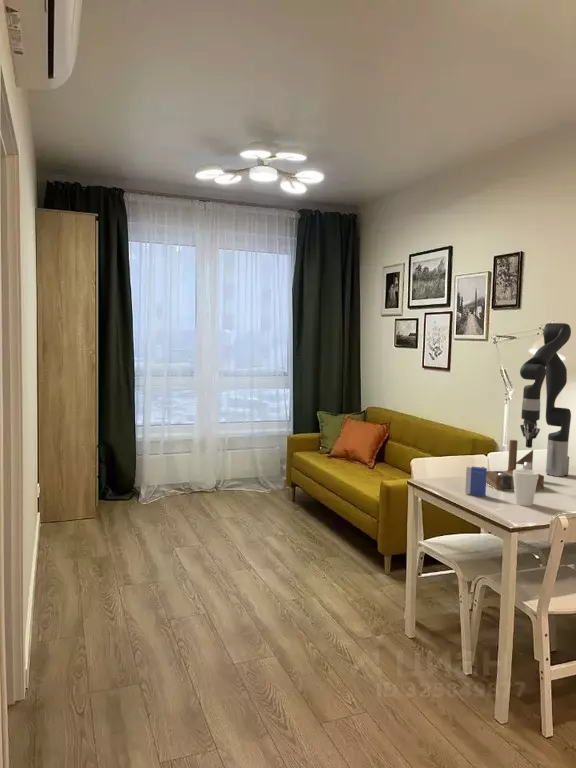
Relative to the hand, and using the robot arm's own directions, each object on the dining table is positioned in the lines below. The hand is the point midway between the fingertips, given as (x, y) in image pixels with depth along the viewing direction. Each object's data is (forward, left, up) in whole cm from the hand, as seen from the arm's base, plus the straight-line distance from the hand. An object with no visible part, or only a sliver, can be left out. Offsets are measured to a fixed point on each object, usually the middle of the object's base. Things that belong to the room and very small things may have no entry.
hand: (528, 447), depth 263 cm
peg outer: (+12, 0, -18) cm, 22 cm away
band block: (+6, 0, -18) cm, 19 cm away
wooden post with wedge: (-5, -16, -18) cm, 25 cm away
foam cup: (+16, +27, -18) cm, 36 cm away
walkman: (+30, +13, -18) cm, 37 cm away
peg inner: (0, 0, -13) cm, 13 cm away
